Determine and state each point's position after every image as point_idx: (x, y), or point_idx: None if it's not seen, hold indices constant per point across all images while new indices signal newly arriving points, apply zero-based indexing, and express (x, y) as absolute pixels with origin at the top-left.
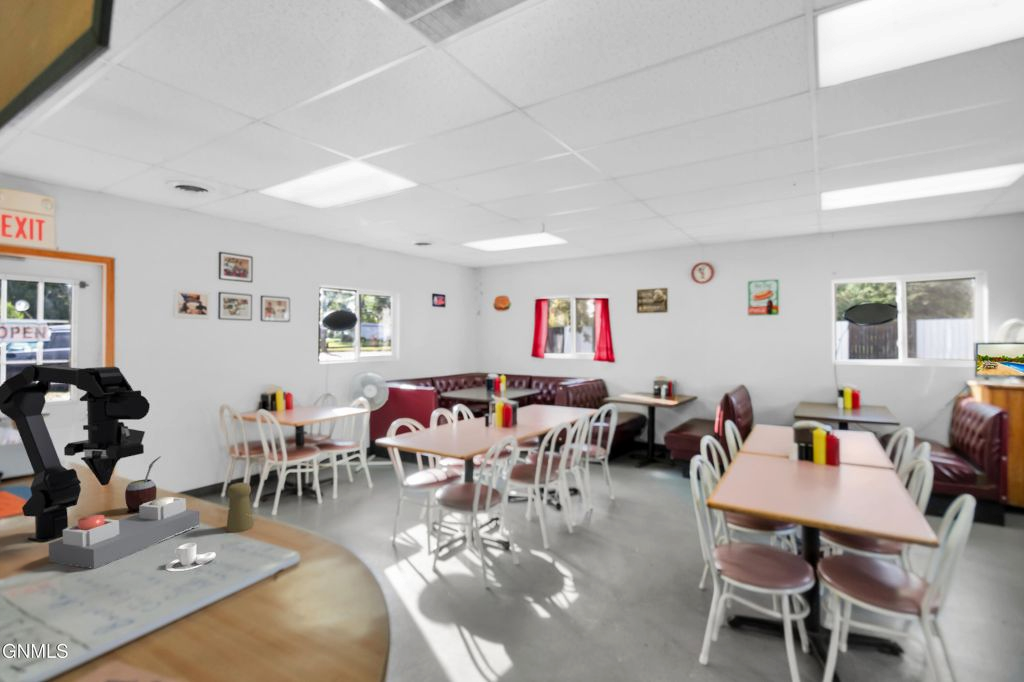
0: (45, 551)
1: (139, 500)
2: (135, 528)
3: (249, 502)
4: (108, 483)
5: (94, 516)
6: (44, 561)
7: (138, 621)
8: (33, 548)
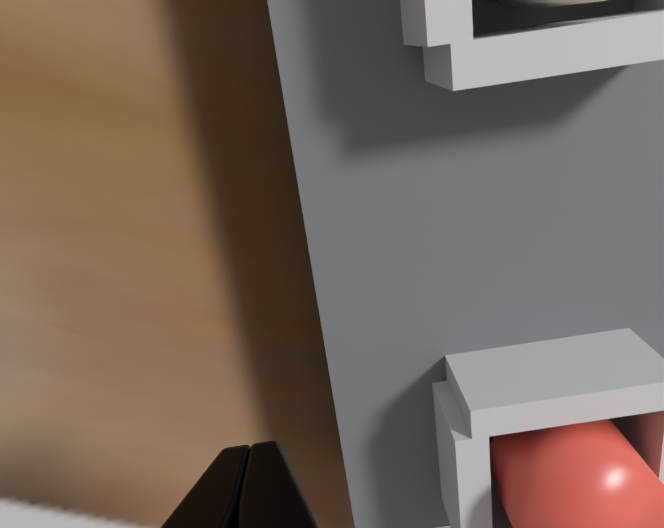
0: (168, 428)
1: None
2: (643, 232)
3: None
4: (279, 446)
5: (577, 506)
6: (324, 472)
7: None
8: (52, 438)
